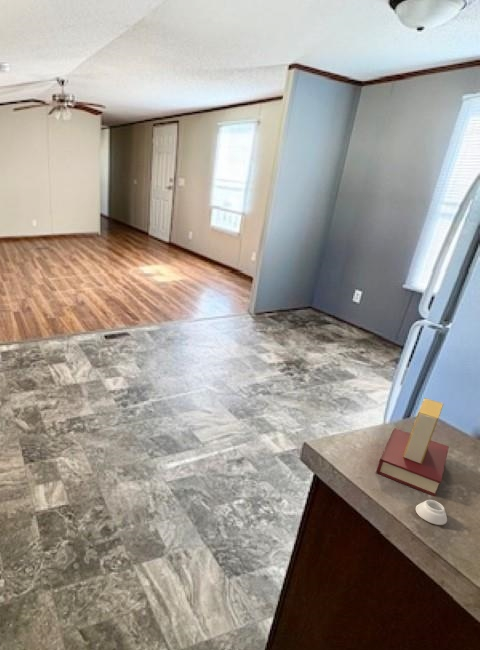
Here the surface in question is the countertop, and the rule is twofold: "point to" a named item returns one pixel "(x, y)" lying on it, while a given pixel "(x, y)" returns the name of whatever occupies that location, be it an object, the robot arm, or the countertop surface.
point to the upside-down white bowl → (432, 512)
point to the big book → (413, 463)
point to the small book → (423, 430)
